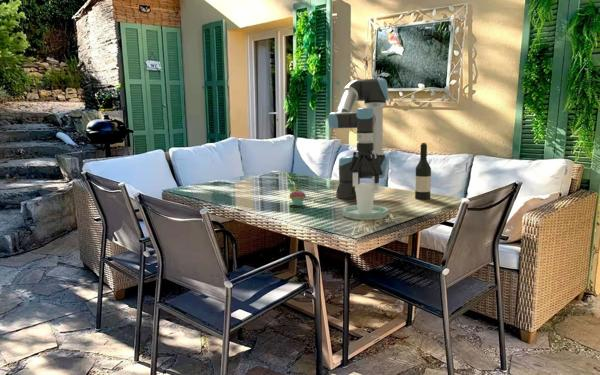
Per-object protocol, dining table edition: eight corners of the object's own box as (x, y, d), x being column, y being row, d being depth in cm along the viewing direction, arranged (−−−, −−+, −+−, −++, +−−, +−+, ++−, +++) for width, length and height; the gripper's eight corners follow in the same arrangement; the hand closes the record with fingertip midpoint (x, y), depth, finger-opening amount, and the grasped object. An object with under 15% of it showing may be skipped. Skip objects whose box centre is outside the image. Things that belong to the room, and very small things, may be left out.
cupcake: (294, 206, 231) (293, 183, 229) (286, 203, 238) (286, 181, 236) (308, 204, 234) (308, 182, 232) (301, 202, 242) (300, 180, 240)
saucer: (335, 217, 206) (335, 211, 206) (353, 208, 223) (353, 203, 223) (377, 221, 196) (377, 216, 195) (393, 212, 213) (393, 207, 212)
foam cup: (374, 215, 204) (375, 187, 202) (354, 214, 206) (354, 186, 203) (375, 210, 213) (375, 183, 211) (355, 210, 215) (356, 183, 213)
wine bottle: (427, 200, 238) (429, 143, 233) (412, 199, 243) (413, 143, 238) (432, 197, 245) (433, 142, 240) (417, 196, 250) (418, 142, 245)
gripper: (341, 141, 212) (341, 185, 216) (378, 144, 191) (378, 193, 195) (353, 140, 216) (353, 183, 220) (390, 143, 196) (390, 190, 199)
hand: (365, 188), depth 208 cm, fingers open, 13 cm apart
